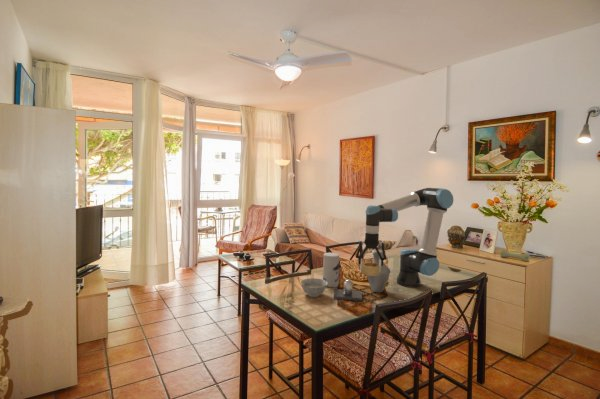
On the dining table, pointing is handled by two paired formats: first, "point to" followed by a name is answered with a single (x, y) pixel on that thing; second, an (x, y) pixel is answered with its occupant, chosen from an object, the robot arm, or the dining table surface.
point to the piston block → (347, 292)
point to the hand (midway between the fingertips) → (370, 270)
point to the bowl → (313, 286)
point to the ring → (370, 269)
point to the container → (331, 269)
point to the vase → (380, 280)
